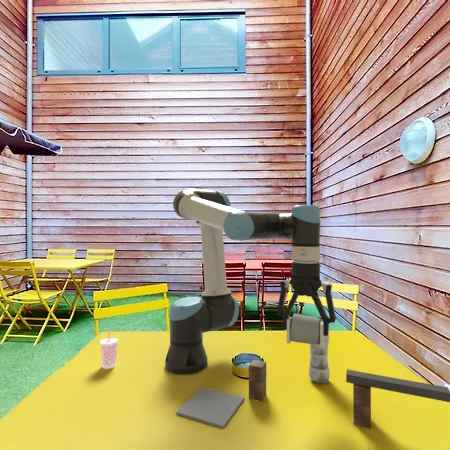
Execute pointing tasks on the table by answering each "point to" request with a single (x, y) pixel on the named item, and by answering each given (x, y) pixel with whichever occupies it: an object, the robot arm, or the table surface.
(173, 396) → the table surface
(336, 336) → the table surface
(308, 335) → the ceramic mug
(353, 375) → the dark grey bar
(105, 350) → the beverage cup
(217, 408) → the mat
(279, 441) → the table surface
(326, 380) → the plastic bottle
